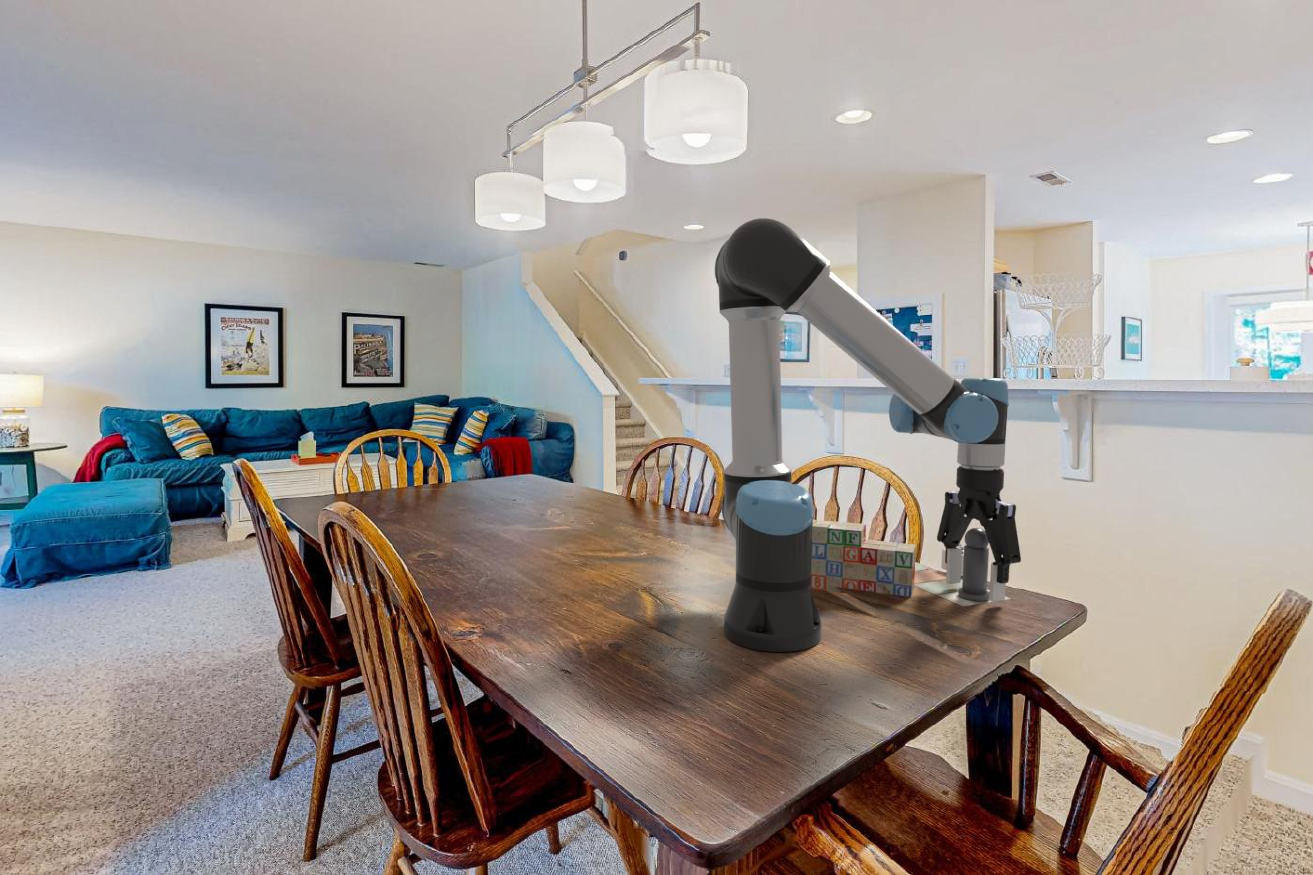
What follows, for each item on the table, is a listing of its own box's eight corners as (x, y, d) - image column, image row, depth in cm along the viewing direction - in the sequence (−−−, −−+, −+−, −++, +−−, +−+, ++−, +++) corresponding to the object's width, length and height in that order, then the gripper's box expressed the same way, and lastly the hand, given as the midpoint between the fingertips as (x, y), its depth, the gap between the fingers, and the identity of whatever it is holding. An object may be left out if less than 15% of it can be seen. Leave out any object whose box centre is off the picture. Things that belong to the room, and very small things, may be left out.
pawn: (973, 603, 121) (977, 532, 120) (951, 594, 126) (954, 526, 125) (996, 599, 123) (1000, 530, 122) (974, 590, 128) (977, 523, 126)
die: (959, 581, 137) (960, 554, 136) (939, 573, 142) (940, 547, 142) (981, 578, 139) (982, 551, 138) (960, 570, 144) (961, 544, 144)
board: (961, 612, 120) (961, 606, 119) (865, 570, 144) (866, 565, 144) (1014, 604, 124) (1014, 598, 124) (913, 564, 148) (913, 560, 148)
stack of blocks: (914, 593, 130) (917, 528, 129) (911, 603, 125) (913, 535, 123) (801, 578, 139) (802, 517, 138) (793, 587, 134) (794, 524, 132)
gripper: (1051, 474, 113) (1043, 608, 115) (950, 457, 134) (945, 571, 136) (1016, 477, 110) (1008, 614, 113) (919, 459, 131) (914, 575, 133)
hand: (974, 591), depth 124 cm, fingers open, 9 cm apart
